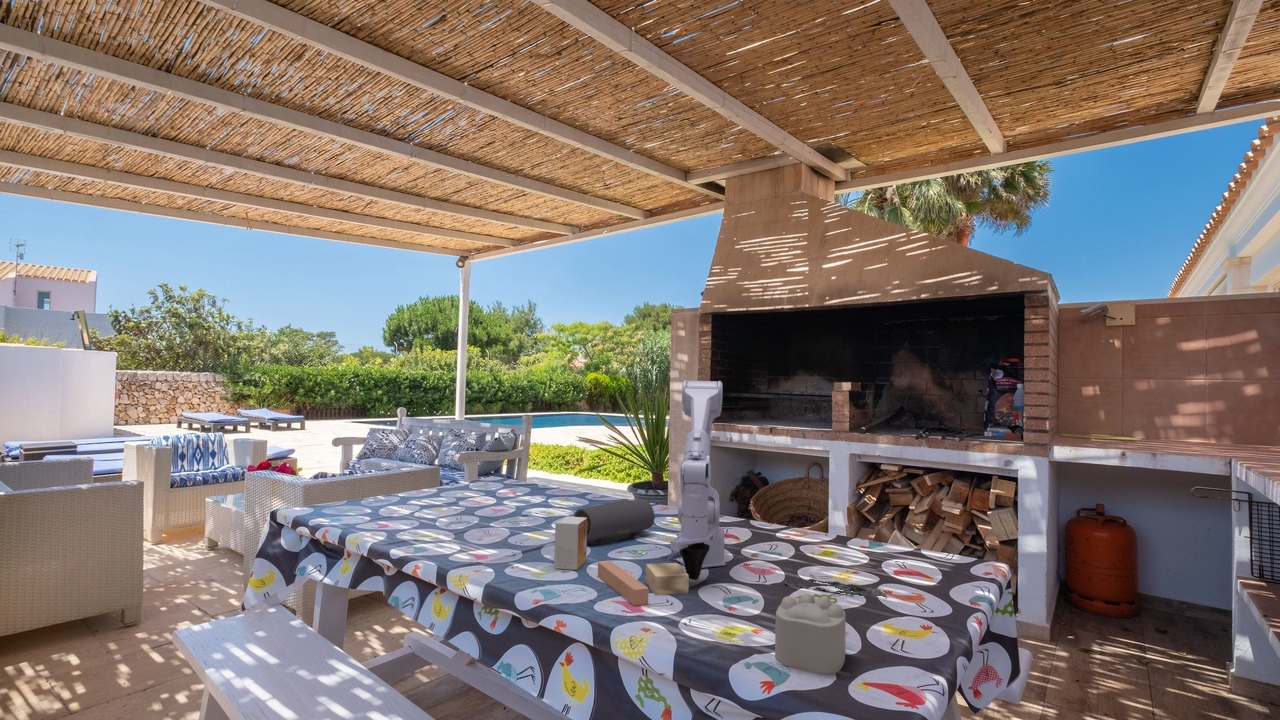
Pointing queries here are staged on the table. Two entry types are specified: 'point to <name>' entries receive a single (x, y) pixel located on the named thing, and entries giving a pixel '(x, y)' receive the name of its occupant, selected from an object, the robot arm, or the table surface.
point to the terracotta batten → (623, 583)
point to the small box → (570, 543)
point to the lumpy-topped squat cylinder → (810, 634)
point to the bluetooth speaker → (617, 519)
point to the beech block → (667, 578)
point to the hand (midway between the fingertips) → (693, 578)
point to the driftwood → (849, 588)
